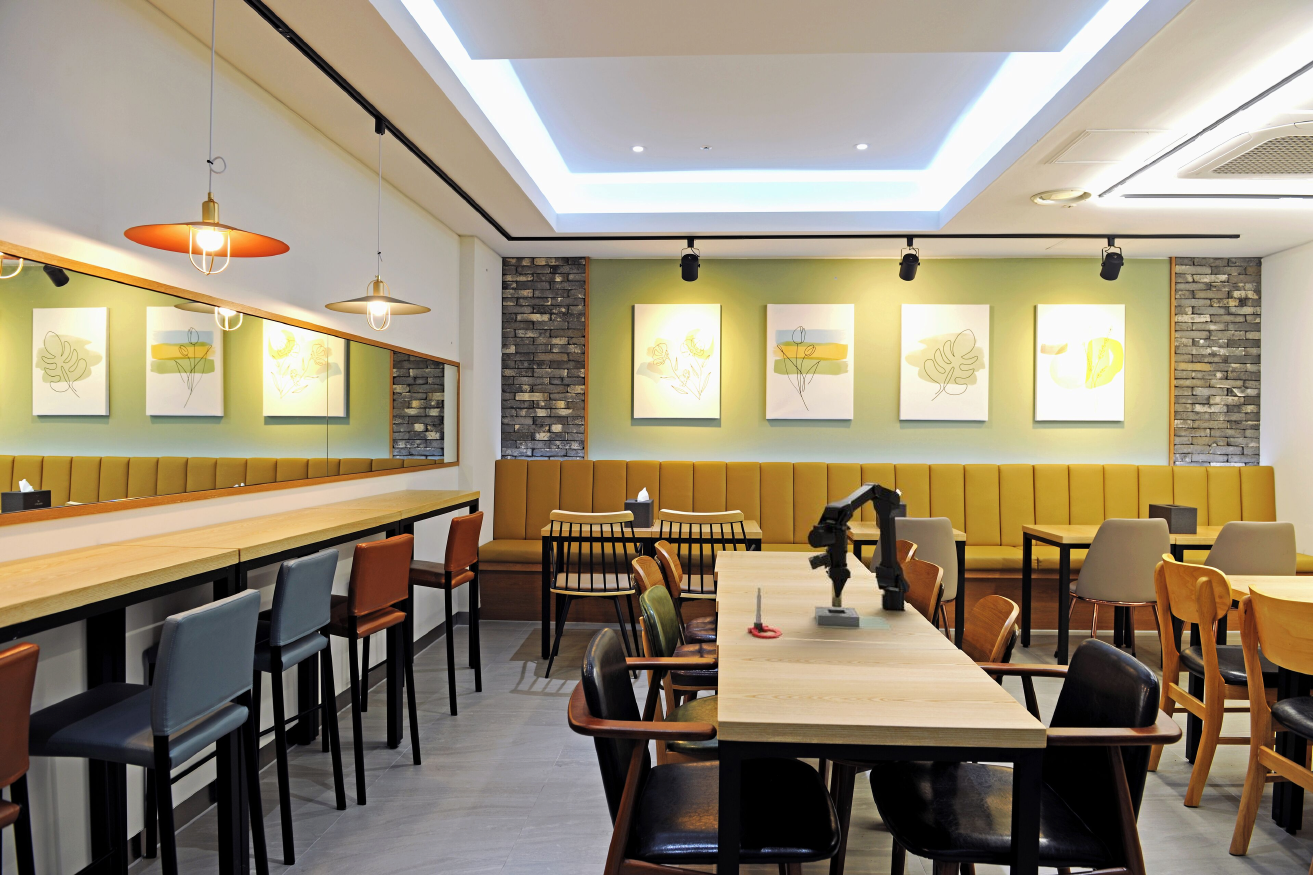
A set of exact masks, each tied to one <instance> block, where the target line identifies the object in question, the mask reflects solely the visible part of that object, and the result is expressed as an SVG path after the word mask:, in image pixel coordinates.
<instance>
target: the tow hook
mask: <svg viewBox="0 0 1313 875" xmlns="http://www.w3.org/2000/svg"><path fill="white" fill-rule="evenodd" d="M761 589H762V588H761V587H757V595H756V614H755V621H754V622H753V626H752V627H747V633H749V634H750V633H751V634H752V636H753V637H756V638H758V639H759V638H761V639H767V640H769V639H772V640H773V639H778V638H779V639H780V637H781V636H782V635H783V632H782V630H780V629H776V628H774V627H773V628H772V627H769V625H767V624H765V625H763V624H764V623H763V622H762V612H761V611H762V595H761ZM759 631H760V632H773V633H774V634H764V633H759Z"/></svg>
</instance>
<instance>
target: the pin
mask: <svg viewBox="0 0 1313 875" xmlns="http://www.w3.org/2000/svg"><path fill="white" fill-rule="evenodd" d="M831 607H843V591H842V592H841V595H840V597H839V598H836V597H835V592H834V586H833V581H831Z"/></svg>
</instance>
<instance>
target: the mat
mask: <svg viewBox="0 0 1313 875" xmlns="http://www.w3.org/2000/svg"><path fill="white" fill-rule="evenodd" d="M815 620H816V619H815ZM816 622H817V620H816ZM817 626H818V627H819V628H834V629H835V628H837V629H838V628H840V629H862V630H863V629H865V630H886V631H888V630H889V631H892V628H891V627H890V625H889V623H887V620H886V619H885V618H884V617H883V616H881V617H880V616H859V627H844V626H819V625H818V624H817Z"/></svg>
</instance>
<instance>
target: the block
mask: <svg viewBox="0 0 1313 875" xmlns="http://www.w3.org/2000/svg"><path fill="white" fill-rule="evenodd" d="M814 617H815V620H817V621H816V623H817V626H818V625H819V626H844V627H859V617H860V616H859V614H858V612H857V610H856V608H855V607H844V606H842V607H832V606H815V607H814Z"/></svg>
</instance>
